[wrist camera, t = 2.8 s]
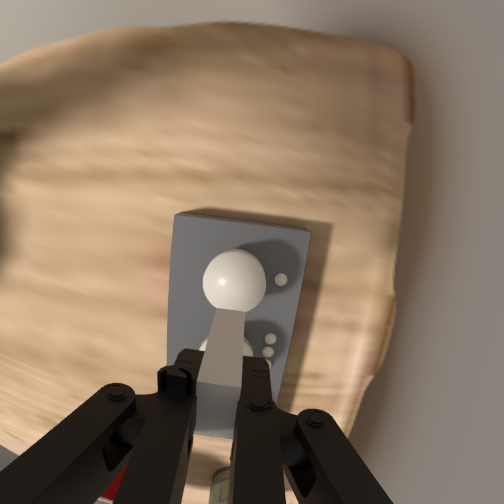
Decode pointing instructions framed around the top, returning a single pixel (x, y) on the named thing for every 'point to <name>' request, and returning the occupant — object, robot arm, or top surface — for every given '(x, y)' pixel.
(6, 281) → the top surface
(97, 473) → the robot arm
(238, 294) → the button one dot
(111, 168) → the top surface
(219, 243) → the button panel
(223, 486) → the thermos
